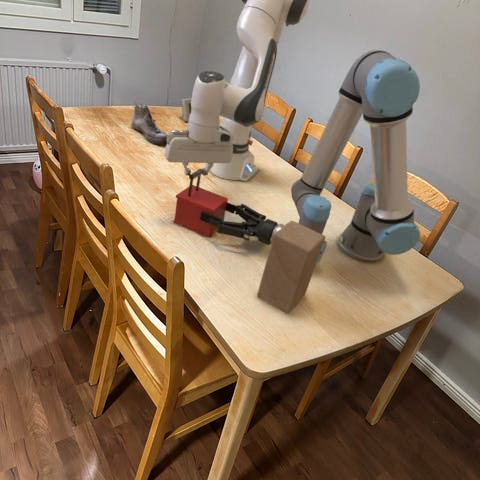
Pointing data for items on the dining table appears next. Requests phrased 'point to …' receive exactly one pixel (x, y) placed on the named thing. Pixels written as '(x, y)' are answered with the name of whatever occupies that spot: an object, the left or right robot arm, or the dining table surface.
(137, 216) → the dining table surface
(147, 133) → the shoe
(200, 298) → the dining table surface
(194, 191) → the lid
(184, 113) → the digital clock
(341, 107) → the right robot arm
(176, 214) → the chest
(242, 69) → the left robot arm
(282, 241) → the wooden block
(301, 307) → the dining table surface
